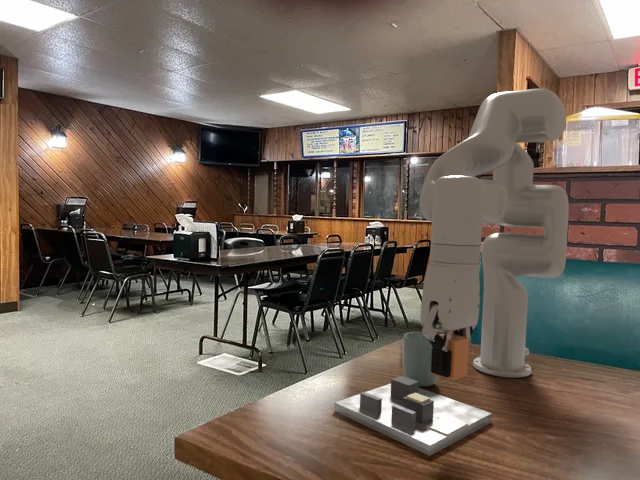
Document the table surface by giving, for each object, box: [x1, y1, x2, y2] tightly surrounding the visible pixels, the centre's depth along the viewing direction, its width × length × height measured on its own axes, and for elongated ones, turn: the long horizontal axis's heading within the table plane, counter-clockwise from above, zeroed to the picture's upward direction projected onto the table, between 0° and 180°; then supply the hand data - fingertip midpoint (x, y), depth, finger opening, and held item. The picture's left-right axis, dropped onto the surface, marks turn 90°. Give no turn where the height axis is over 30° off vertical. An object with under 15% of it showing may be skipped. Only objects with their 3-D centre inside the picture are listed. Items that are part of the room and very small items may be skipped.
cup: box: [402, 331, 439, 388], centre depth 100 cm, size 8×8×10 cm
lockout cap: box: [431, 333, 470, 382], centre depth 76 cm, size 4×4×6 cm
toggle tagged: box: [403, 393, 434, 424], centre depth 79 cm, size 3×4×3 cm
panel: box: [334, 383, 493, 456], centre depth 83 cm, size 18×20×4 cm
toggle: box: [390, 375, 420, 400], centre depth 88 cm, size 3×4×3 cm
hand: (449, 370), depth 76 cm, fingers closed on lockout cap, 4 cm apart
